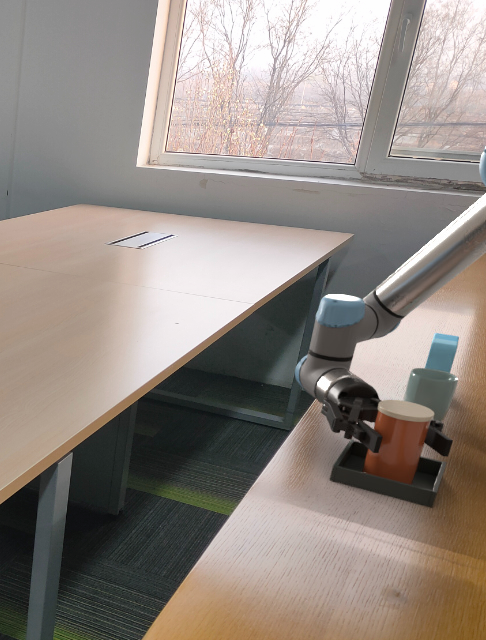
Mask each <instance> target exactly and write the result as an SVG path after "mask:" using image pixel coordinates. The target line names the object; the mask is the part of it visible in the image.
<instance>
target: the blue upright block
mask: <svg viewBox="0 0 486 640" xmlns="http://www.w3.org/2000/svg"><path fill="white" fill-rule="evenodd" d="M459 340H460V336H458V335H453V334H445V333H439V332H434V334H433V338H432V341H431V344H430V348H429V351H428V355H427V359H426V362H425V365H424V368H427V369H435V370H440V371H444V372H448V373H451V370H452V367H453V364H454V361H455V357H456V354H457V350H458V346H459Z"/></svg>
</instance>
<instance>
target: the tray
mask: <svg viewBox="0 0 486 640" xmlns="http://www.w3.org/2000/svg"><path fill="white" fill-rule="evenodd" d="M367 451H368V448H367V447H366V446H365V445H364V444H362V443H361V442H360V441H359V440H356V439H355V440H354V439H349V441H348V443H347V444H346V446H345V447H344V449H343V450H342V452H341V453H340V455H339V456H338V458H337V459H336V460H335V462H334V464H333V465H332V468H331V473H330V477H329V481H331V482H334V483H337V484H340V485H345V486H349V487H352V488H356V489H359V490H363V491H368V492H371V493H375V494H379V495H382V496H386V497H389V498H393V499H398V500H401V501H405V502H409V503H412V504H416V505H420V506H424V507H426V508H433V507H434V503H435V501H436V499H437V498H436V497H437V494H438V491H439V489H440V485H441V483H442V479H443V476H444V473H445V470H446V467H447V464H448V462H447V461H442V460H438V459H435V458H430V457H425V456H422V455H421V456H420V460H419V463H418V466H417V470H416V473H415V477H414V480H413V483H412V485H410V484H407V483H403V482H399V481H395V480H391V479H387V478H383V477H379V476H375V475H372V474H368V473H364V472H362V470H363V466H364V462H365V458H366V455H367Z"/></svg>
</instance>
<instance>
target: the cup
mask: <svg viewBox="0 0 486 640" xmlns="http://www.w3.org/2000/svg"><path fill="white" fill-rule="evenodd" d="M458 384H459V378H458V376H456V375H455V374H453V373H451V372H450V373H448V372H444V371H440V370H435V369H427V368H425V367H414V368H412V369H411V370H410V372H409V376H408V378H407V382H406V385H405V390H404V393H403V398H402V401H407V402H412V403H416V404H419V405H422V406H425V407H427V408H429V409H431V410H432V411H433V412H434V417H433V419H436V420H438V421H440V422H442V423H443V421H445V419H446V417H447V415H448V413H449V410H450V408H451V405H452V402H453V399H454V396H455V394H456V390H457V386H458Z"/></svg>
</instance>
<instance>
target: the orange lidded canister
mask: <svg viewBox="0 0 486 640" xmlns="http://www.w3.org/2000/svg"><path fill="white" fill-rule="evenodd" d="M433 417H434V412H433V411H432V410H431V409H429V408H427V407H425V406H422V405H419V404H416V403H412V402H407V401H403V400H400V399H399V400H398V399H383V400H382V401H381V402H379V404H378V413H377V417H376V421H375V422H374V424H373V428H372V429H374V430H375V431H376V432H377V433H379V434H380V435H381V436H382V437H383V438H382V442H381V445H380V449H379V453H373V452H372V451H371V450H369V449H368V451H367V455H366V458H365V462H364V466H363V470H362V472H364V473H368V474H372V475H375V476H379V477H383V478H387V479H391V480H395V481H399V482H403V483H407V484H410V485H412V483H413V480H414V477H415V473H416V470H417V466H418V463H419V460H420V456H422V452H423V450H424V446H425V439H426V436H427V432H428V429H429V426H430V422H431V420H433Z"/></svg>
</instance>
